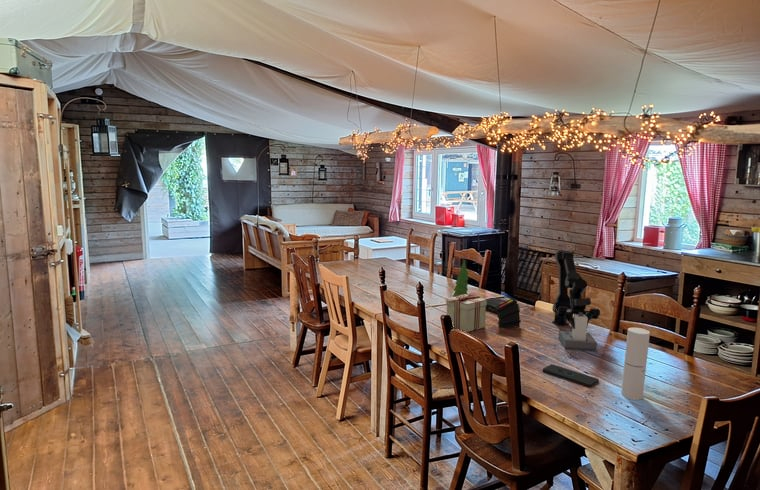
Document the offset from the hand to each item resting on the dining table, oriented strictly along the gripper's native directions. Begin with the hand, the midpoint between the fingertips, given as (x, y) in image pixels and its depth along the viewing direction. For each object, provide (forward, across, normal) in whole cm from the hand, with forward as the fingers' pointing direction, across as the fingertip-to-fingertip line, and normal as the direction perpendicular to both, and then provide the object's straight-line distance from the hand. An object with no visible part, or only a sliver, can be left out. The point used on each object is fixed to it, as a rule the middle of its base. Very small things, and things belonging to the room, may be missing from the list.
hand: (580, 328), depth 234 cm
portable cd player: (-34, -31, +49) cm, 67 cm away
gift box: (-8, -53, +21) cm, 58 cm away
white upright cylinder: (+4, 0, +6) cm, 7 cm away
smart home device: (+32, -12, -18) cm, 39 cm away
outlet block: (+4, 0, +9) cm, 9 cm away
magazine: (-11, -30, +24) cm, 40 cm away
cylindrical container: (+41, +7, -28) cm, 50 cm away
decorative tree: (-30, -54, +43) cm, 75 cm away
